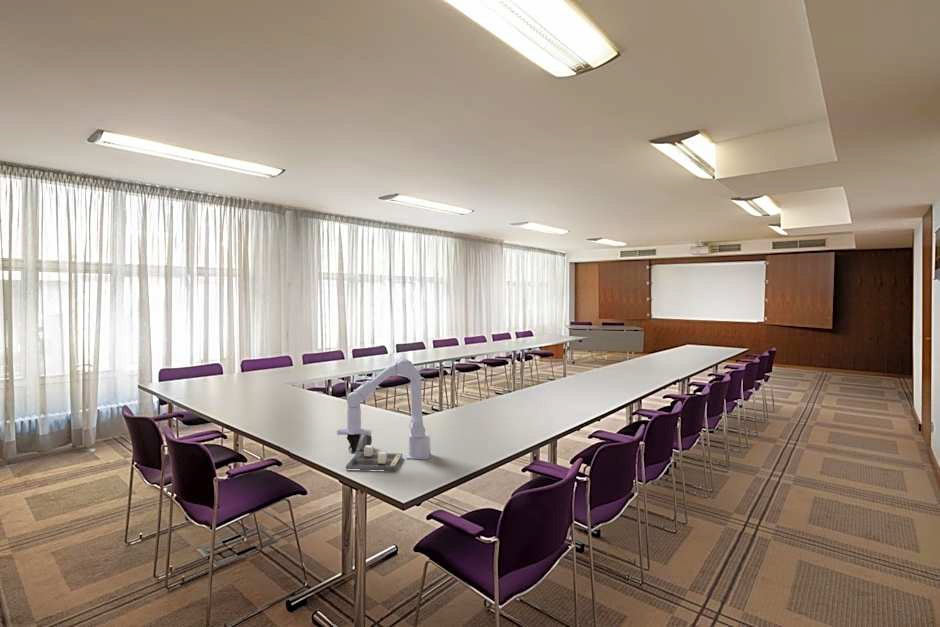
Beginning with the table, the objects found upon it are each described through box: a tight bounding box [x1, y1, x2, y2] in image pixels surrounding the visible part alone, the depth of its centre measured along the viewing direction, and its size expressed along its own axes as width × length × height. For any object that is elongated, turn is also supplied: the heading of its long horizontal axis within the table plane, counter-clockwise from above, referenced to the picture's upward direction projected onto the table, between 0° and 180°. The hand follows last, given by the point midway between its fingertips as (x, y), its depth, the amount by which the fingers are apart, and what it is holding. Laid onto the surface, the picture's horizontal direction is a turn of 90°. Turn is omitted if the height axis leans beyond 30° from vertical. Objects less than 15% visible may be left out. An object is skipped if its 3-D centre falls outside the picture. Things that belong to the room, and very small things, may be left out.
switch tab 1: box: [363, 444, 374, 456], centre depth 201 cm, size 3×3×4 cm
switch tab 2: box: [377, 451, 388, 463], centre depth 192 cm, size 3×3×4 cm
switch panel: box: [345, 452, 403, 472], centre depth 196 cm, size 20×16×2 cm
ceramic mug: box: [348, 434, 373, 453], centre depth 215 cm, size 11×8×8 cm
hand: (354, 451), depth 201 cm, fingers closed
